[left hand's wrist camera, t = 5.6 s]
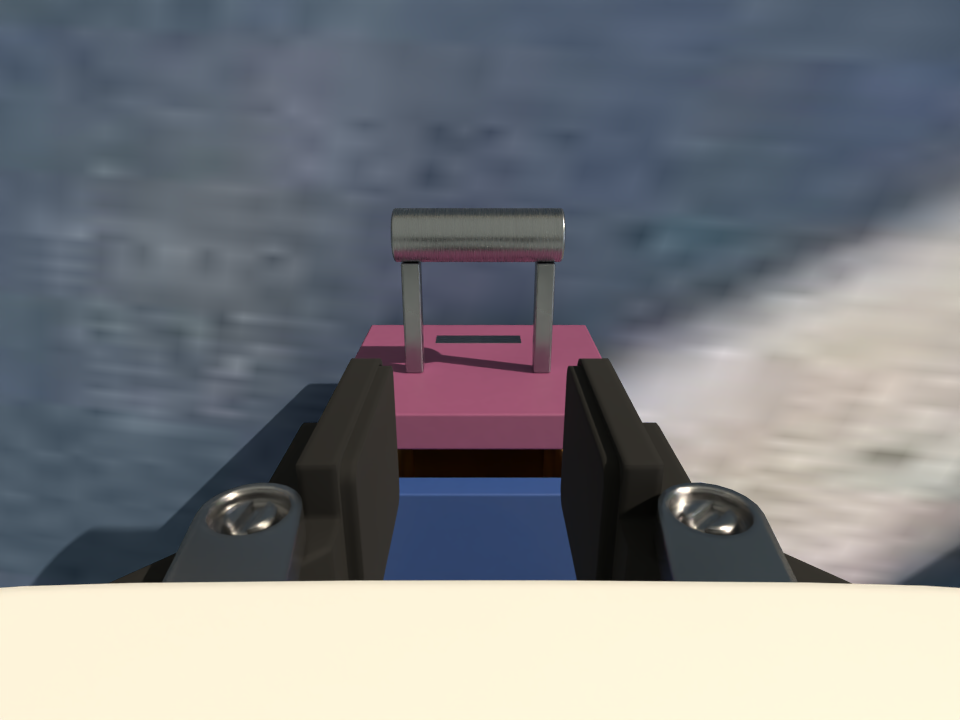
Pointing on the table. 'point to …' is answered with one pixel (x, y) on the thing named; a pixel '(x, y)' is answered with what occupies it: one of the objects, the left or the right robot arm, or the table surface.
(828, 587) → the left robot arm
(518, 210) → the drawer
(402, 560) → the blue drawer casing
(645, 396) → the table surface
